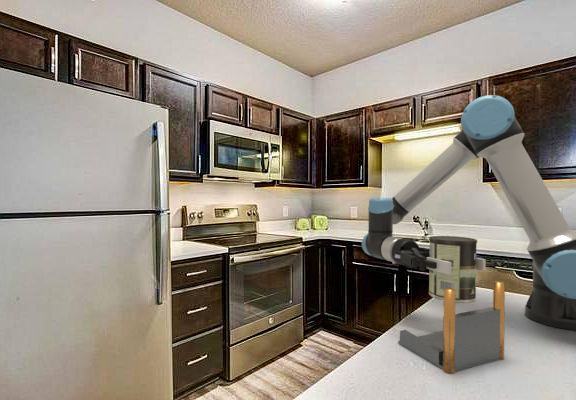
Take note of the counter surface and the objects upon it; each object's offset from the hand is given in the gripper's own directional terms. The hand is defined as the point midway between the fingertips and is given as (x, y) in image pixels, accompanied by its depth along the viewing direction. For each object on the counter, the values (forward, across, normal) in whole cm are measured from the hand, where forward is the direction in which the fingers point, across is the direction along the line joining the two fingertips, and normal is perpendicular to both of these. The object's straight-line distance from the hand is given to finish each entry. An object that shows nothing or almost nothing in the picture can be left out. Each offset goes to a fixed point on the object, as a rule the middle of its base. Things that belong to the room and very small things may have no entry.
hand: (467, 266), depth 73 cm
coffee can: (-4, 0, -8) cm, 9 cm away
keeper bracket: (0, +5, -18) cm, 19 cm away
